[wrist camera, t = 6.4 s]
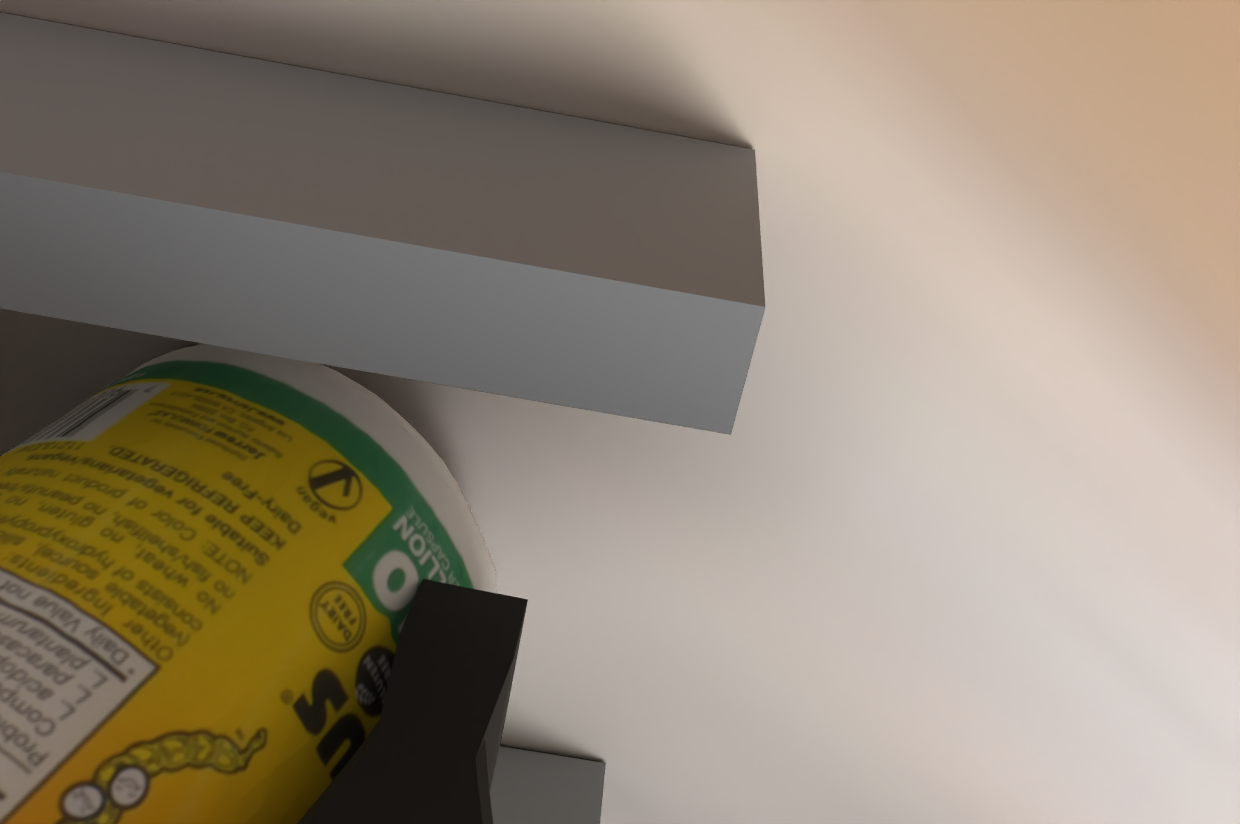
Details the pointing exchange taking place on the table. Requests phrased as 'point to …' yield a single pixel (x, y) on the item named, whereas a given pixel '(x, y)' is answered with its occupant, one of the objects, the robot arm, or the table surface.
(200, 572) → the supplement bottle
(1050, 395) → the table surface
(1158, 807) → the table surface
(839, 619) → the table surface
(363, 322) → the u rest
